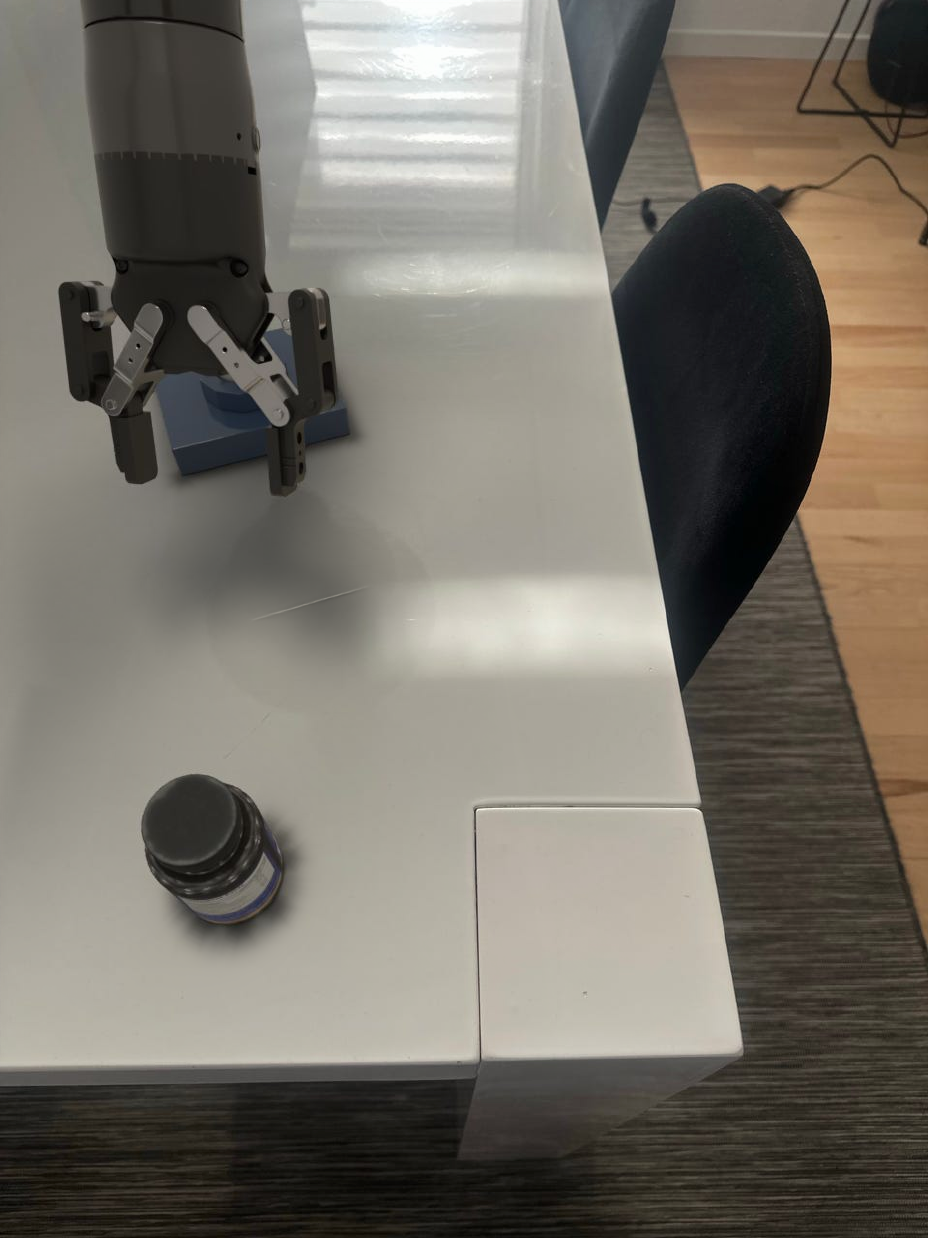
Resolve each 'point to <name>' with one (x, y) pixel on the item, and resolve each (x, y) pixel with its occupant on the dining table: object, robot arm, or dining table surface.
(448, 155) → the dining table surface
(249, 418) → the blue push button box
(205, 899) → the pill bottle
